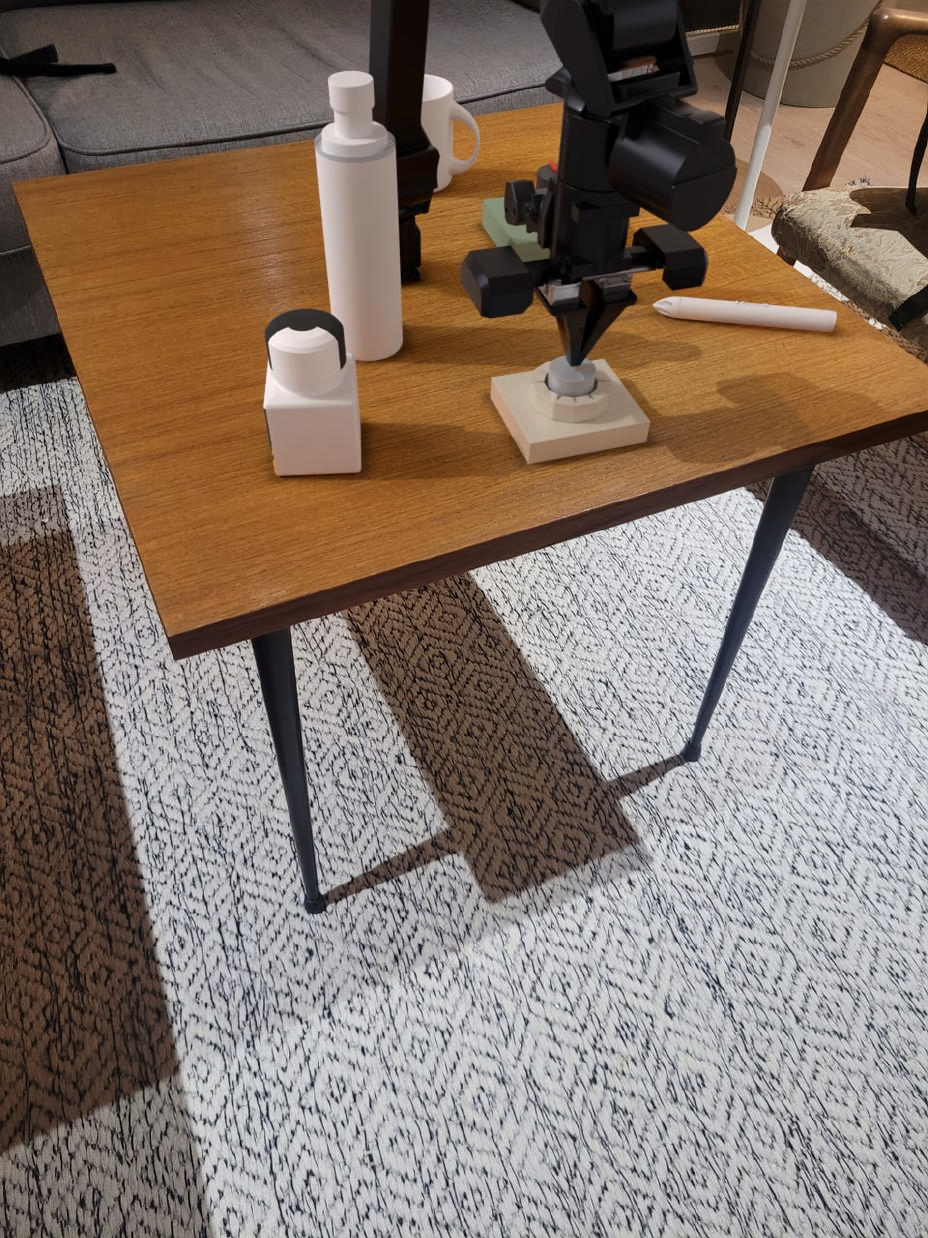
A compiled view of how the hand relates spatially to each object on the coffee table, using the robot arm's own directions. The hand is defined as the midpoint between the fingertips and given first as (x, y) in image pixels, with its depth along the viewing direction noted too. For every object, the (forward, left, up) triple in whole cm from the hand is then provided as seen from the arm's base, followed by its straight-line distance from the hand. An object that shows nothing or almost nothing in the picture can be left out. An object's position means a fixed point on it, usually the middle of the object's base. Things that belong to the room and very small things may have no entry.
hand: (573, 363), depth 78 cm
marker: (+23, +10, -6) cm, 26 cm away
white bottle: (-14, +17, -6) cm, 23 cm away
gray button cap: (0, 0, -2) cm, 2 cm away
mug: (+2, +50, -6) cm, 50 cm away
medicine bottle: (-22, +2, -6) cm, 23 cm away
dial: (+11, +32, -3) cm, 34 cm away
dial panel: (+11, +32, -6) cm, 34 cm away
